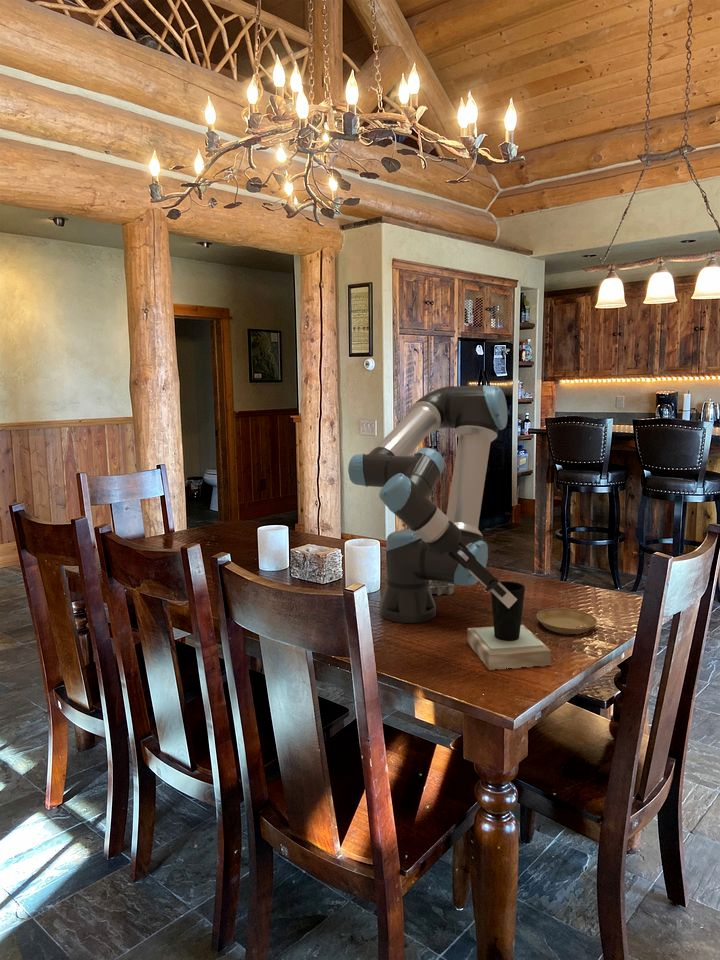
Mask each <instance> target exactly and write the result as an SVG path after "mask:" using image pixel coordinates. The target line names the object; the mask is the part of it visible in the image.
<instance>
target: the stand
mask: <svg viewBox="0 0 720 960" xmlns="http://www.w3.org/2000/svg"><path fill="white" fill-rule="evenodd" d="M466 638H467V641H466V642H467V644H468V645H469V646H470V647H471V649H472V650H473V651H474V652H475V654H476V655H477V657H478V658H479V659H480V661H481V662H482V661H483V662H482V663H483V664H484V666H485V667H486V669H488V670H489V671H496V670H495V669H498V670H509V669H508V668H512V669H522V668H521V667H527V668H534V667H533V666H541V667H544V666H543V665H551V663H552V662H551V661H552V660H551V659H552V650H551V649H550V648H549V647H548V646H547V645H546V644H545V643H544V642H542V641H541V640H540V639H539V638H538V637H537V636H536V635H535V634H534V633H533V632H531V631H530V630H529V629H528V628H527V626H526V625H524V624H521V626H520V635H519V639H518V640H515V641H503V640H499V639H497V638H495V636H494V626H483V627H468V628H467V637H466ZM506 668H507V669H506Z"/></svg>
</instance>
